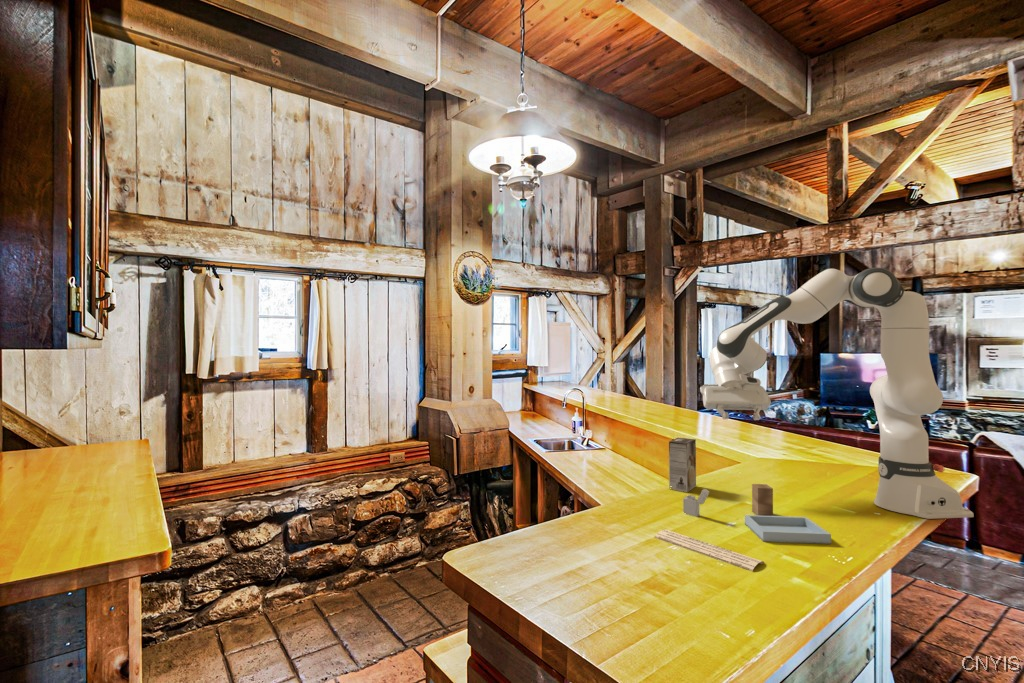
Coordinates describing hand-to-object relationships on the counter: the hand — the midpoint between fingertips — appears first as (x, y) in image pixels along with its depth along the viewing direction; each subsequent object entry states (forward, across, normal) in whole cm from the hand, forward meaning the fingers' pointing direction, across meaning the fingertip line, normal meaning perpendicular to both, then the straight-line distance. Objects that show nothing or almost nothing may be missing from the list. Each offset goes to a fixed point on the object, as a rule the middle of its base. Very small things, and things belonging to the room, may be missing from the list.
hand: (741, 418), depth 151 cm
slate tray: (+38, 0, -3) cm, 38 cm away
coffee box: (+12, -16, +24) cm, 31 cm away
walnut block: (+28, 0, +7) cm, 29 cm away
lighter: (+31, -19, +5) cm, 36 cm away
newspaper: (+47, -22, -11) cm, 53 cm away
